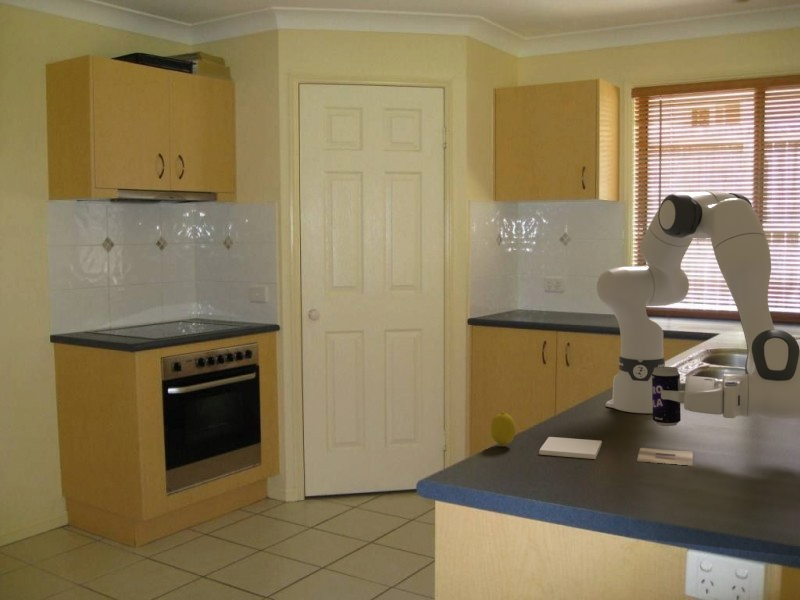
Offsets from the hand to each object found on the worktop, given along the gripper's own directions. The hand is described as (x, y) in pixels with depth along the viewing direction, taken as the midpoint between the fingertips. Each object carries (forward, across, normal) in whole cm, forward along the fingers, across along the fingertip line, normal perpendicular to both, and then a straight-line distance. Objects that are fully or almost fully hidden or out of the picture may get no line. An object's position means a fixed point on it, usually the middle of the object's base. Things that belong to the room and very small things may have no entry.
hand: (661, 390), depth 173 cm
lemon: (+34, +2, +14) cm, 37 cm away
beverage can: (-1, 0, +7) cm, 7 cm away
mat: (+19, 0, +14) cm, 24 cm away
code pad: (-1, 0, +14) cm, 14 cm away
